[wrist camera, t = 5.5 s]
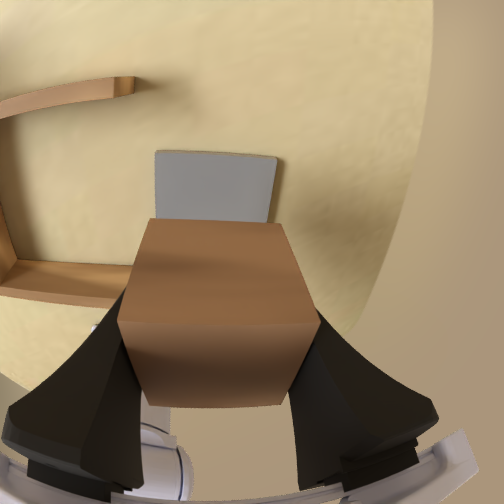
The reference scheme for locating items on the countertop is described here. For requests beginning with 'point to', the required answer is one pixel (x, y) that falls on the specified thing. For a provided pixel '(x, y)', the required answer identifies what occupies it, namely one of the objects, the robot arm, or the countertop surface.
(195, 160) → the slate coaster
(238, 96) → the countertop surface
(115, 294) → the oak bracket
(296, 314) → the walnut block
